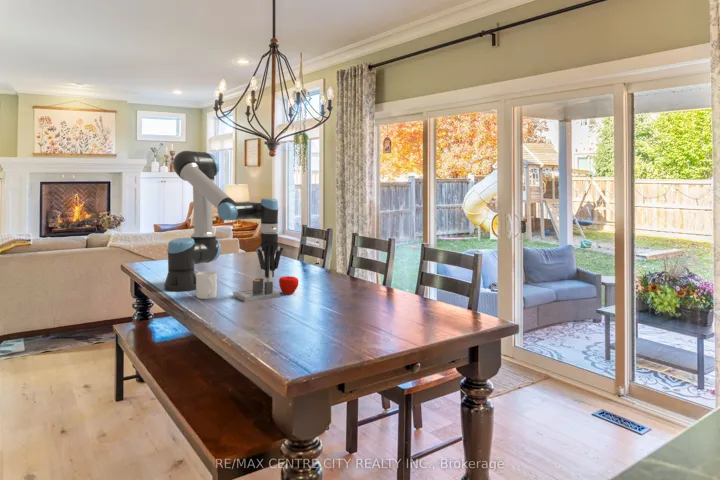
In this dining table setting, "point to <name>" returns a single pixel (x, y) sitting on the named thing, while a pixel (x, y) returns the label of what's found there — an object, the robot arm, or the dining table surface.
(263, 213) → the robot arm
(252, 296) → the panel
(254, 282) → the block
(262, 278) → the block
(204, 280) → the mug
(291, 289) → the apple
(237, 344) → the dining table surface
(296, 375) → the dining table surface
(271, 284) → the breaker
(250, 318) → the dining table surface
